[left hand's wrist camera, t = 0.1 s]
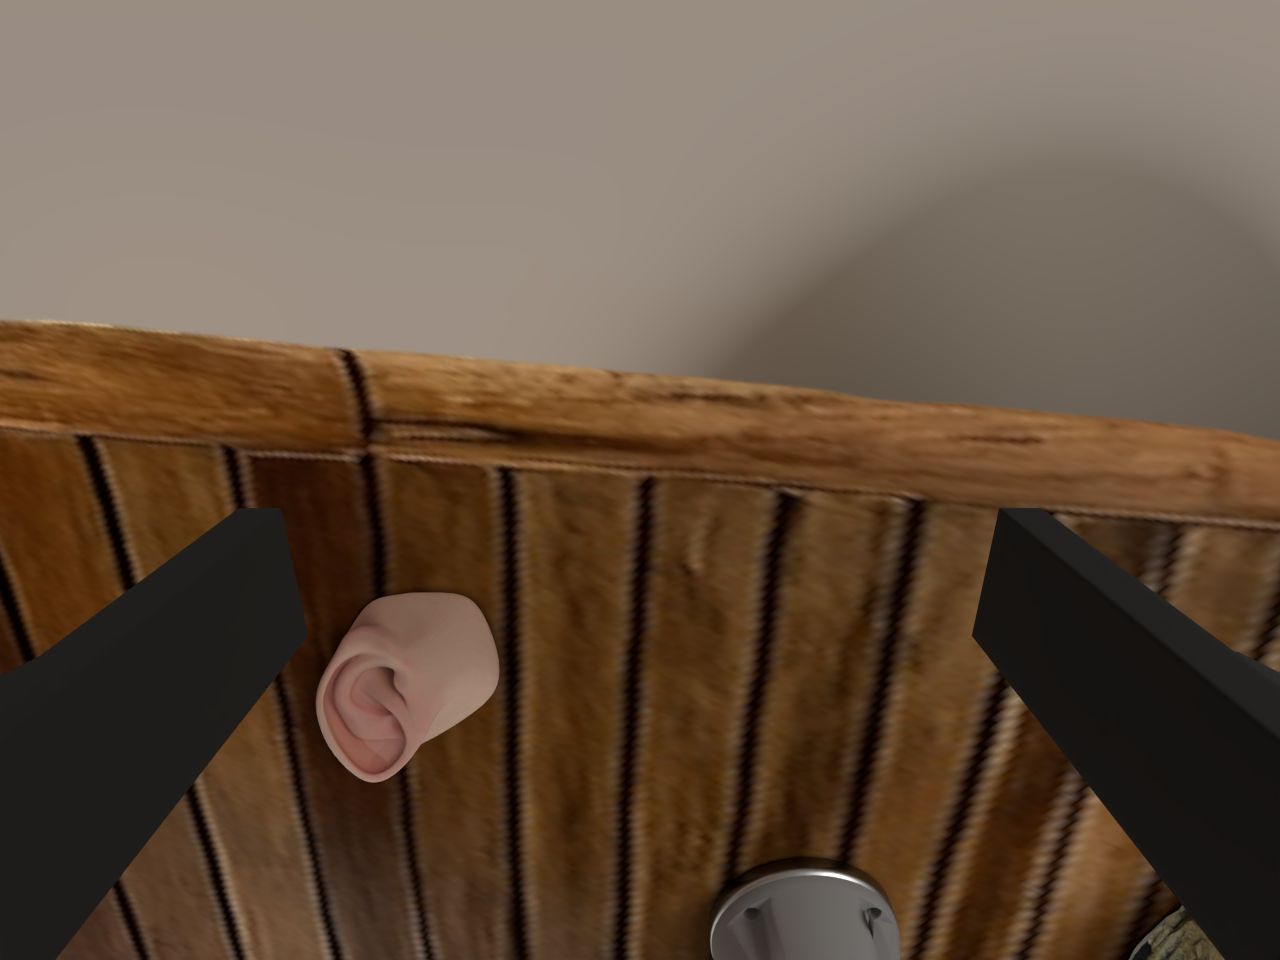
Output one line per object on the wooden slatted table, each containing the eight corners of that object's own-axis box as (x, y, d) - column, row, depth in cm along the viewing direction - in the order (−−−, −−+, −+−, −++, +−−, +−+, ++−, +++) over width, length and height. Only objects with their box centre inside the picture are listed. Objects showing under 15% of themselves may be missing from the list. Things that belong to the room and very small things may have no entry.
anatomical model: (431, 596, 40) (530, 731, 44) (449, 563, 44) (538, 691, 48) (254, 679, 43) (363, 801, 46) (285, 642, 46) (383, 758, 50)
